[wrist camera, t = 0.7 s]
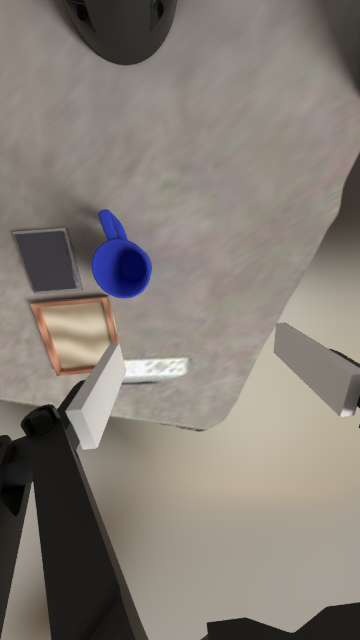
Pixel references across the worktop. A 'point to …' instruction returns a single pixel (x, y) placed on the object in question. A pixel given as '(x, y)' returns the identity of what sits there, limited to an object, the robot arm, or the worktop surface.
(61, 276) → the ink pad
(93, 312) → the sand box
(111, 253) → the mug
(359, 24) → the worktop surface
